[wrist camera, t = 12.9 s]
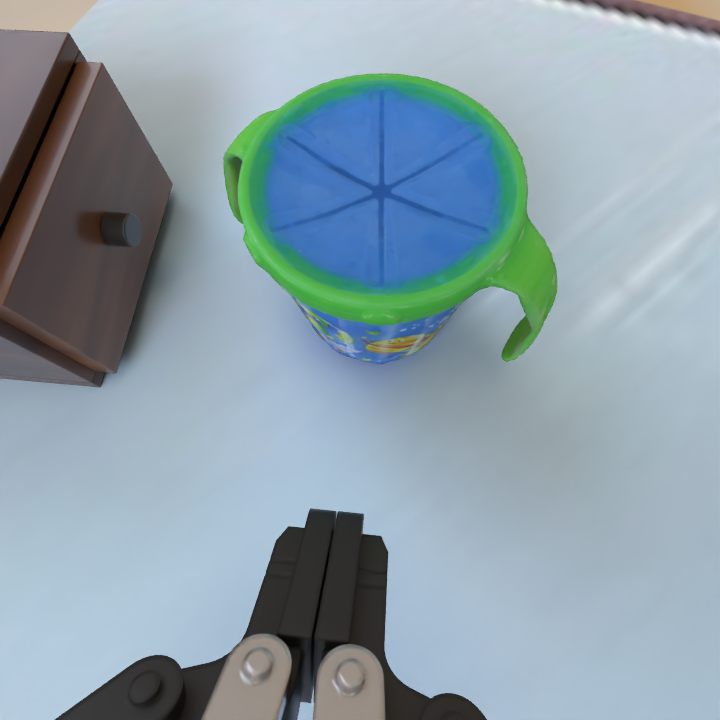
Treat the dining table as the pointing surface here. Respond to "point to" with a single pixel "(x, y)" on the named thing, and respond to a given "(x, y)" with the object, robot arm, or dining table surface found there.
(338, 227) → the snack cup
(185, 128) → the dining table surface
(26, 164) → the cabinet
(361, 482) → the dining table surface
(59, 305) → the drawer
